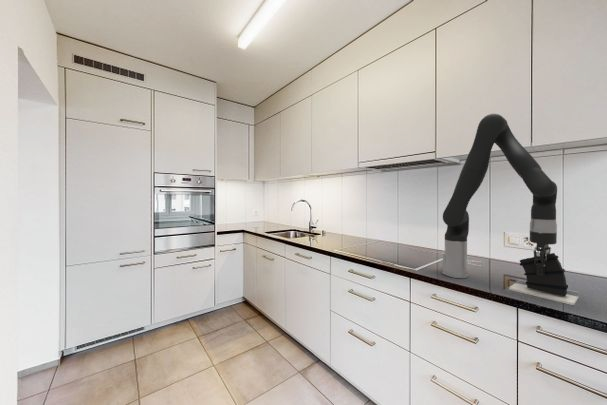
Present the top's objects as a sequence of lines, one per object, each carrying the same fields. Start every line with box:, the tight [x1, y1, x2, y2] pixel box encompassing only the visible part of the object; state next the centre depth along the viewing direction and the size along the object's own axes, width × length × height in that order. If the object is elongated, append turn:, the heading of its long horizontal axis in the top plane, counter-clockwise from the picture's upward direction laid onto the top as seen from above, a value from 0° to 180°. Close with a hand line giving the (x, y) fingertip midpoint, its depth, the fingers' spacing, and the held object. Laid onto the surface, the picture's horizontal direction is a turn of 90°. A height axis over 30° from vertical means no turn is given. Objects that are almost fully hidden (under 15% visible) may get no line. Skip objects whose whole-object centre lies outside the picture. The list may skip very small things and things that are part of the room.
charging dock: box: [508, 278, 580, 306], centre depth 96 cm, size 18×10×2 cm, turn 35°
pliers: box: [467, 259, 485, 267], centre depth 141 cm, size 10×2×15 cm
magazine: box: [519, 252, 569, 296], centre depth 95 cm, size 4×13×15 cm, turn 36°
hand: (542, 274), depth 96 cm, fingers closed on magazine, 3 cm apart
